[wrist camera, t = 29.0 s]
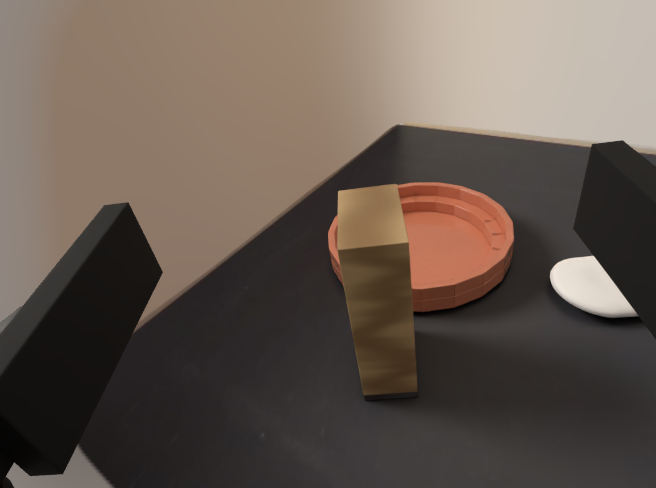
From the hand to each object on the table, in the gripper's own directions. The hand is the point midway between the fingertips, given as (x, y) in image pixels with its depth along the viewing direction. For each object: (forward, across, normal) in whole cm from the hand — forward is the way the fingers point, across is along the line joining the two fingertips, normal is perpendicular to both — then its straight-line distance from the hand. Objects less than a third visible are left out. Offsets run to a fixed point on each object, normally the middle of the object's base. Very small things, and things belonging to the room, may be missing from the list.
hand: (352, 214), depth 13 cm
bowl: (+22, +4, -19) cm, 30 cm away
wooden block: (+10, 0, -19) cm, 22 cm away
